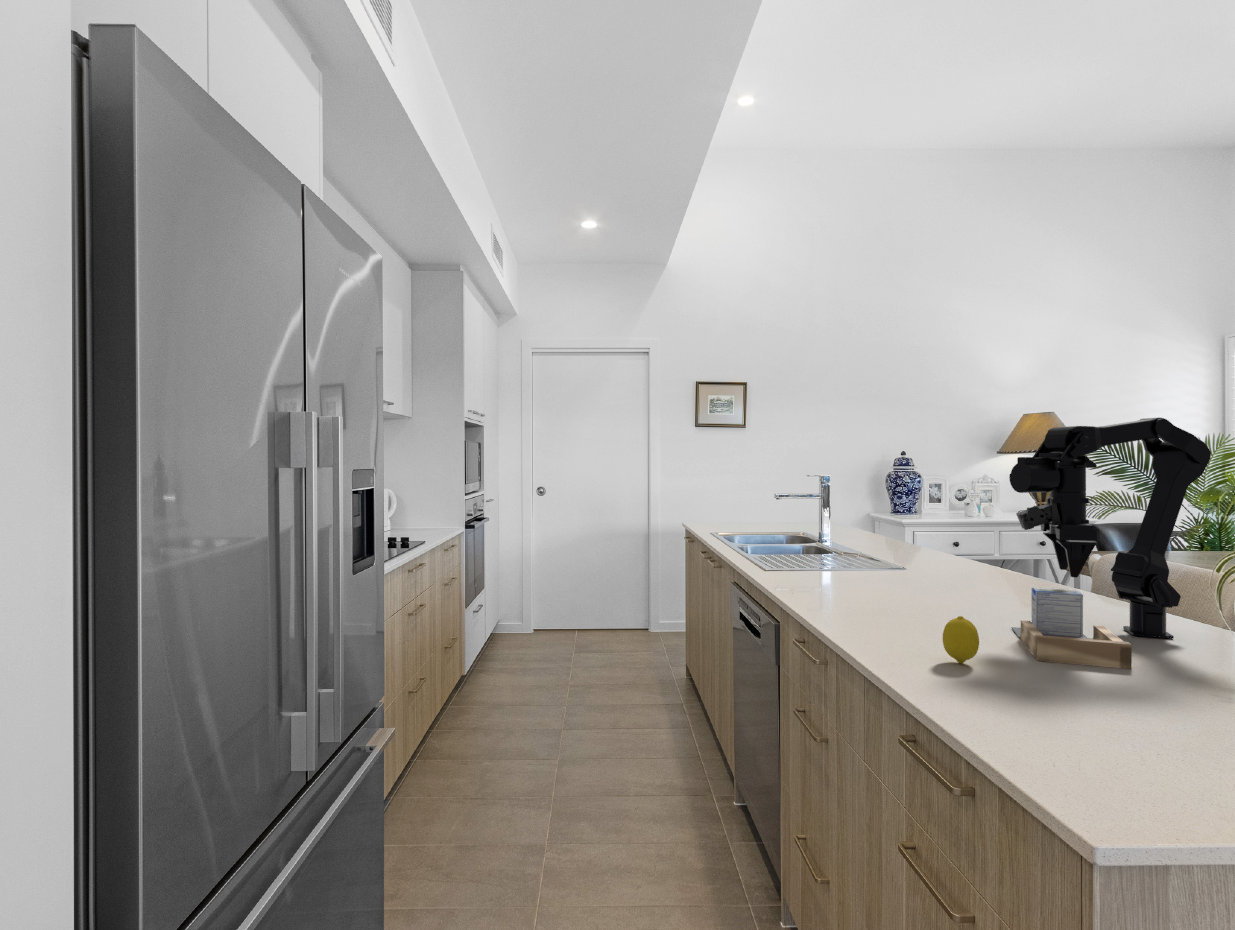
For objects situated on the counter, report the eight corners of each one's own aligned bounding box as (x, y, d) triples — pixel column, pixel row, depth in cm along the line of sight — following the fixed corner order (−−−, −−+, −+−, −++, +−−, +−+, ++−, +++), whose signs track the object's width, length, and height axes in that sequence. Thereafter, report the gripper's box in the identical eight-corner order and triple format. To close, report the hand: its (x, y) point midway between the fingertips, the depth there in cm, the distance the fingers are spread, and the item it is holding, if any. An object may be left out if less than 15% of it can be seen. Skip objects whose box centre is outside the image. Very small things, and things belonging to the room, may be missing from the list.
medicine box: (1077, 633, 135) (1077, 589, 135) (1083, 639, 131) (1083, 593, 130) (1030, 630, 138) (1030, 586, 137) (1035, 635, 133) (1035, 590, 133)
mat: (1011, 628, 140) (1011, 627, 140) (1081, 633, 136) (1081, 632, 136) (1018, 638, 133) (1018, 636, 133) (1092, 643, 129) (1092, 642, 129)
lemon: (983, 669, 113) (983, 620, 113) (947, 667, 115) (947, 619, 114) (973, 659, 119) (973, 613, 119) (938, 658, 120) (938, 611, 120)
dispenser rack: (1020, 638, 133) (1020, 617, 133) (1103, 644, 128) (1103, 623, 128) (1037, 660, 118) (1037, 637, 118) (1131, 668, 113) (1131, 644, 113)
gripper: (1012, 489, 144) (1012, 564, 144) (1028, 494, 127) (1028, 579, 127) (1075, 489, 140) (1075, 566, 140) (1100, 494, 123) (1100, 582, 123)
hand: (1068, 573), depth 133 cm, fingers open, 9 cm apart
